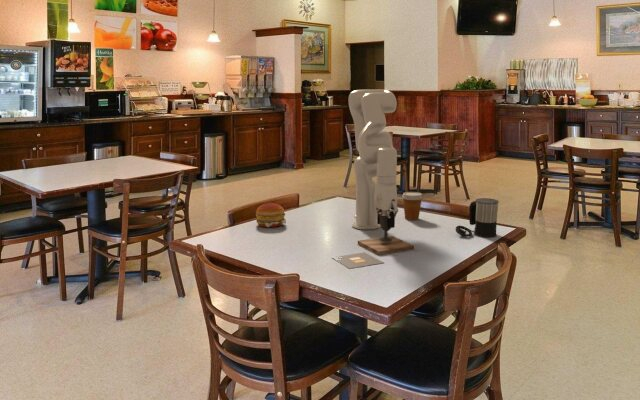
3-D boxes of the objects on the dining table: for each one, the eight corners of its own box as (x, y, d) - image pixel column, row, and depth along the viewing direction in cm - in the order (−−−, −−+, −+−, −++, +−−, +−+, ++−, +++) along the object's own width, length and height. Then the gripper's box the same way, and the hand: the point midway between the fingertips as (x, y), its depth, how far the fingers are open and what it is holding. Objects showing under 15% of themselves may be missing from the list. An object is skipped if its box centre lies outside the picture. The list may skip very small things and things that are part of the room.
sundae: (375, 237, 227) (375, 200, 224) (392, 237, 228) (392, 200, 225) (378, 242, 221) (379, 204, 218) (395, 241, 221) (396, 203, 218)
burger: (260, 221, 268) (259, 200, 266) (288, 222, 266) (288, 200, 264) (252, 228, 255) (252, 206, 253) (282, 229, 253) (282, 207, 251)
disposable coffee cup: (401, 220, 265) (401, 195, 263) (401, 216, 275) (402, 191, 272) (422, 221, 264) (422, 195, 261) (422, 216, 273) (422, 191, 271)
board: (357, 244, 228) (357, 240, 228) (392, 239, 235) (392, 235, 235) (378, 255, 214) (378, 251, 214) (414, 249, 221) (414, 245, 221)
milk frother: (501, 234, 241) (503, 200, 238) (481, 242, 230) (483, 206, 227) (471, 228, 251) (472, 195, 248) (450, 235, 240) (452, 201, 237)
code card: (331, 257, 212) (331, 257, 212) (364, 252, 217) (364, 252, 217) (349, 268, 199) (349, 268, 199) (383, 263, 205) (384, 262, 205)
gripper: (366, 177, 225) (366, 221, 229) (390, 184, 210) (389, 232, 214) (383, 175, 229) (382, 219, 232) (407, 182, 213) (406, 229, 217)
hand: (385, 225), depth 223 cm, fingers closed on sundae, 6 cm apart
